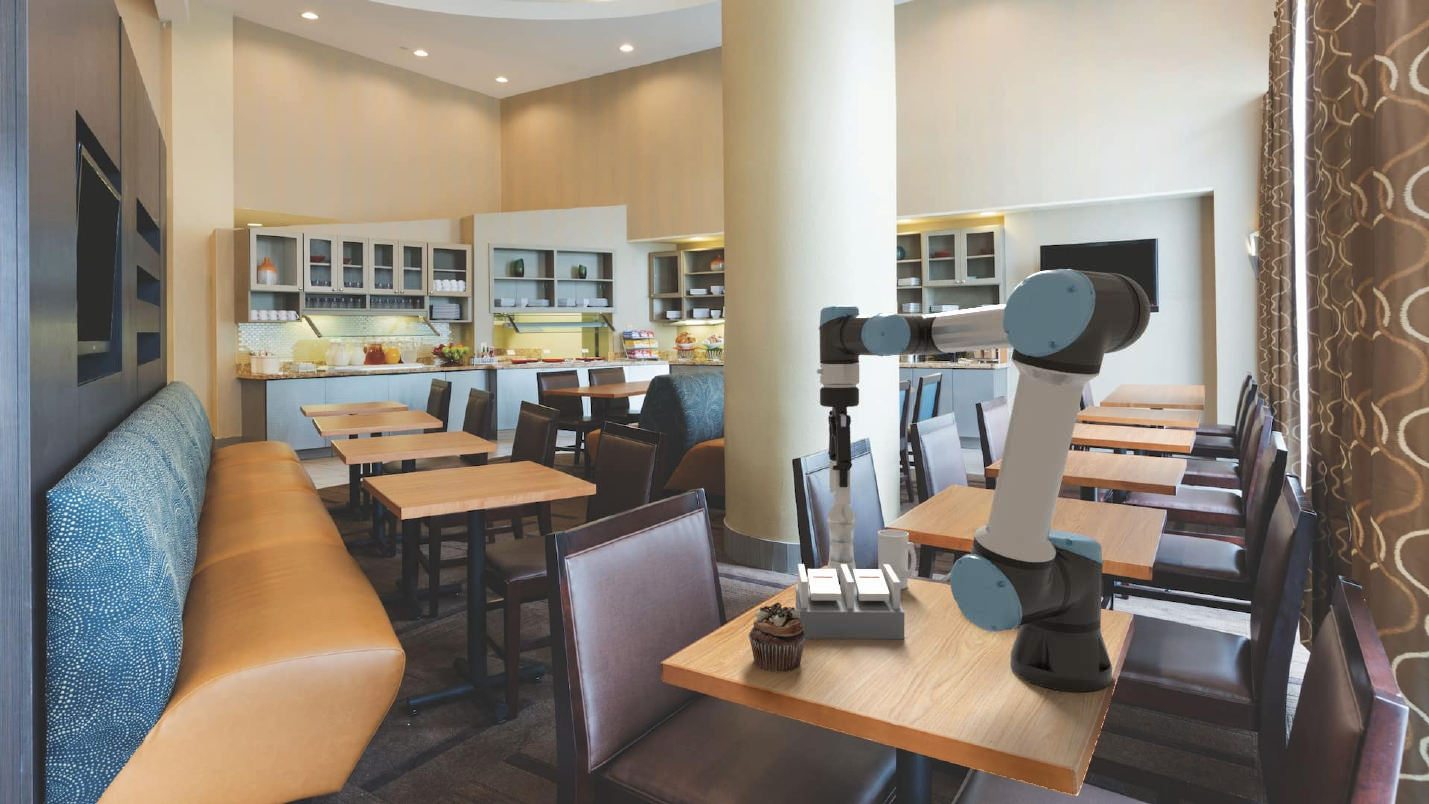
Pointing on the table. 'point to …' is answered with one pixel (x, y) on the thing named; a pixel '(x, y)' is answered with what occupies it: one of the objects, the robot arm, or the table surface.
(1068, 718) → the table surface
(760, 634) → the cupcake
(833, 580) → the block
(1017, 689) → the table surface
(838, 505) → the plastic bottle
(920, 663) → the table surface
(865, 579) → the breaker
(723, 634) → the table surface
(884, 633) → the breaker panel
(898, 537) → the mug
